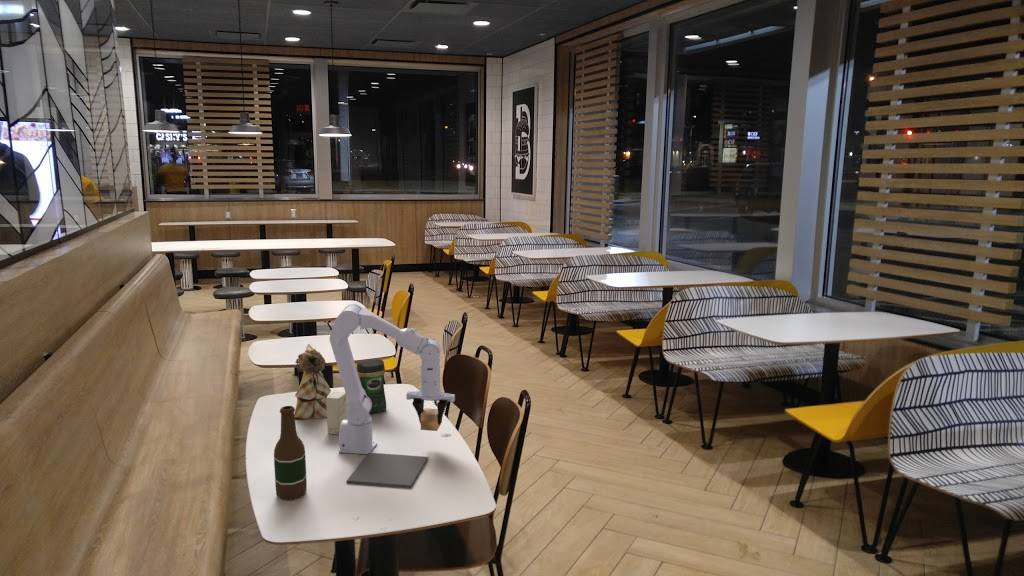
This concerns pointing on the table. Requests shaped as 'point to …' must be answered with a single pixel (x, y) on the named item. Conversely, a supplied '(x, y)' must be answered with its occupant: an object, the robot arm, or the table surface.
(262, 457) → the table surface
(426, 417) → the oak cube
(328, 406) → the skincare box
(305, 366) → the plush toy
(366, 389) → the coffee jar
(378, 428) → the table surface
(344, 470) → the table surface
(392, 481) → the charcoal mat
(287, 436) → the beer bottle
